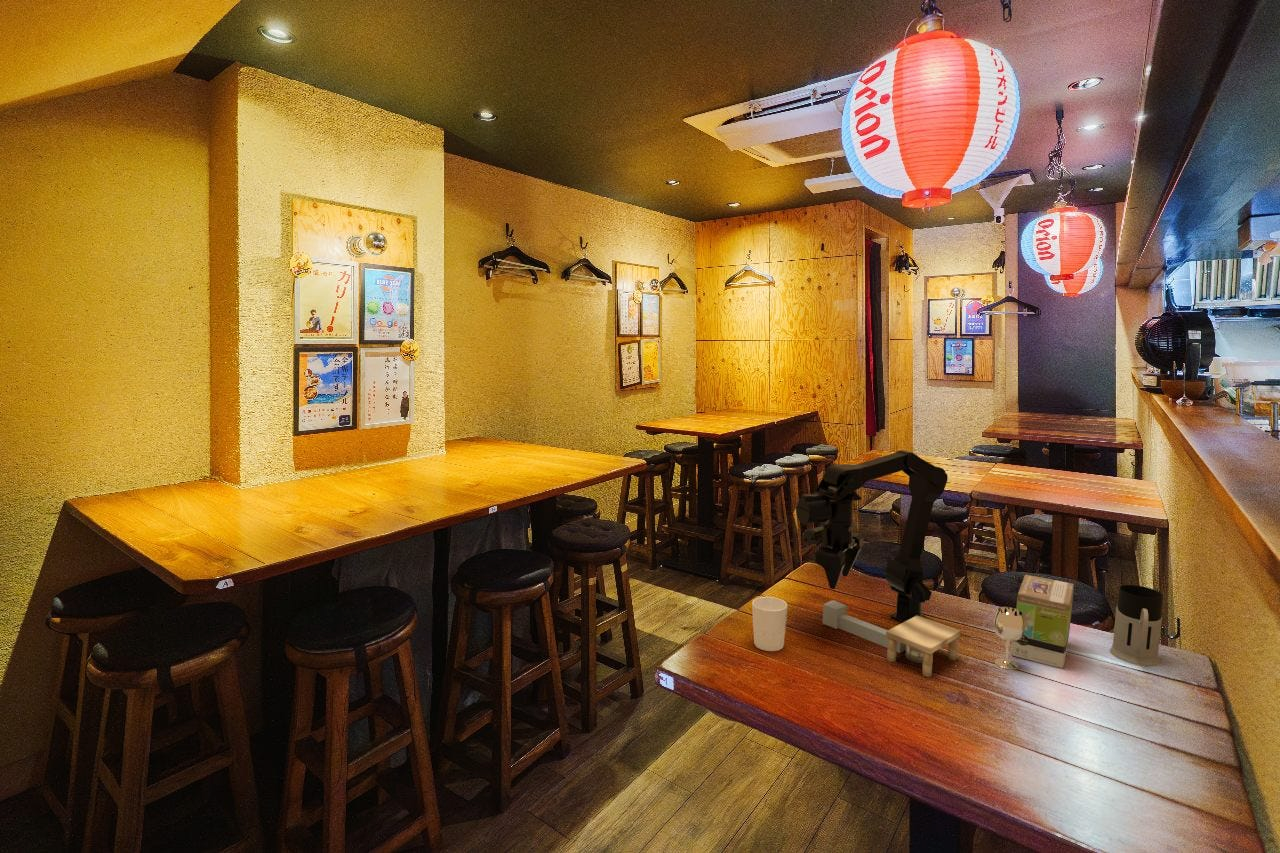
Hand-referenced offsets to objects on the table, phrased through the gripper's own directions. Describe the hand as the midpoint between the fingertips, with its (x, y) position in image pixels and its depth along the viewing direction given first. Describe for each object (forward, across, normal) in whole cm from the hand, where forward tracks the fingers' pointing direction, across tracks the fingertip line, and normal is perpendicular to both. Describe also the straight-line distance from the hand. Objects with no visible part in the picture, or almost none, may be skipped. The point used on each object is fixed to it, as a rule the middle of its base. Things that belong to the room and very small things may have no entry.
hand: (838, 582), depth 150 cm
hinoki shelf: (+12, +3, +20) cm, 23 cm away
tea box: (+13, -16, +41) cm, 46 cm away
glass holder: (+14, -22, +58) cm, 63 cm away
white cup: (+12, +16, -11) cm, 23 cm away
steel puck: (+12, +3, +19) cm, 23 cm away
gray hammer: (+12, -1, +6) cm, 14 cm away
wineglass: (+13, -4, +35) cm, 38 cm away
